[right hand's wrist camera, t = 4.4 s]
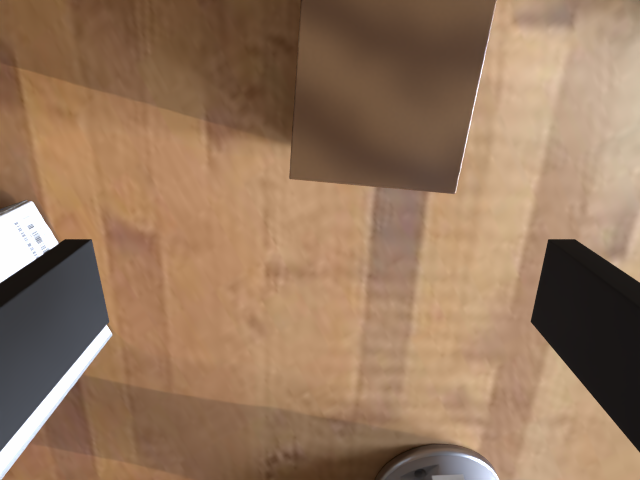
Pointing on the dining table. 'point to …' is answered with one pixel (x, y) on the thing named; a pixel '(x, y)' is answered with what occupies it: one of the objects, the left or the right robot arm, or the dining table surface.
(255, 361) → the dining table surface
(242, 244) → the dining table surface
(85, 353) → the hard drive box
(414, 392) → the dining table surface
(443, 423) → the dining table surface
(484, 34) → the cabinet
